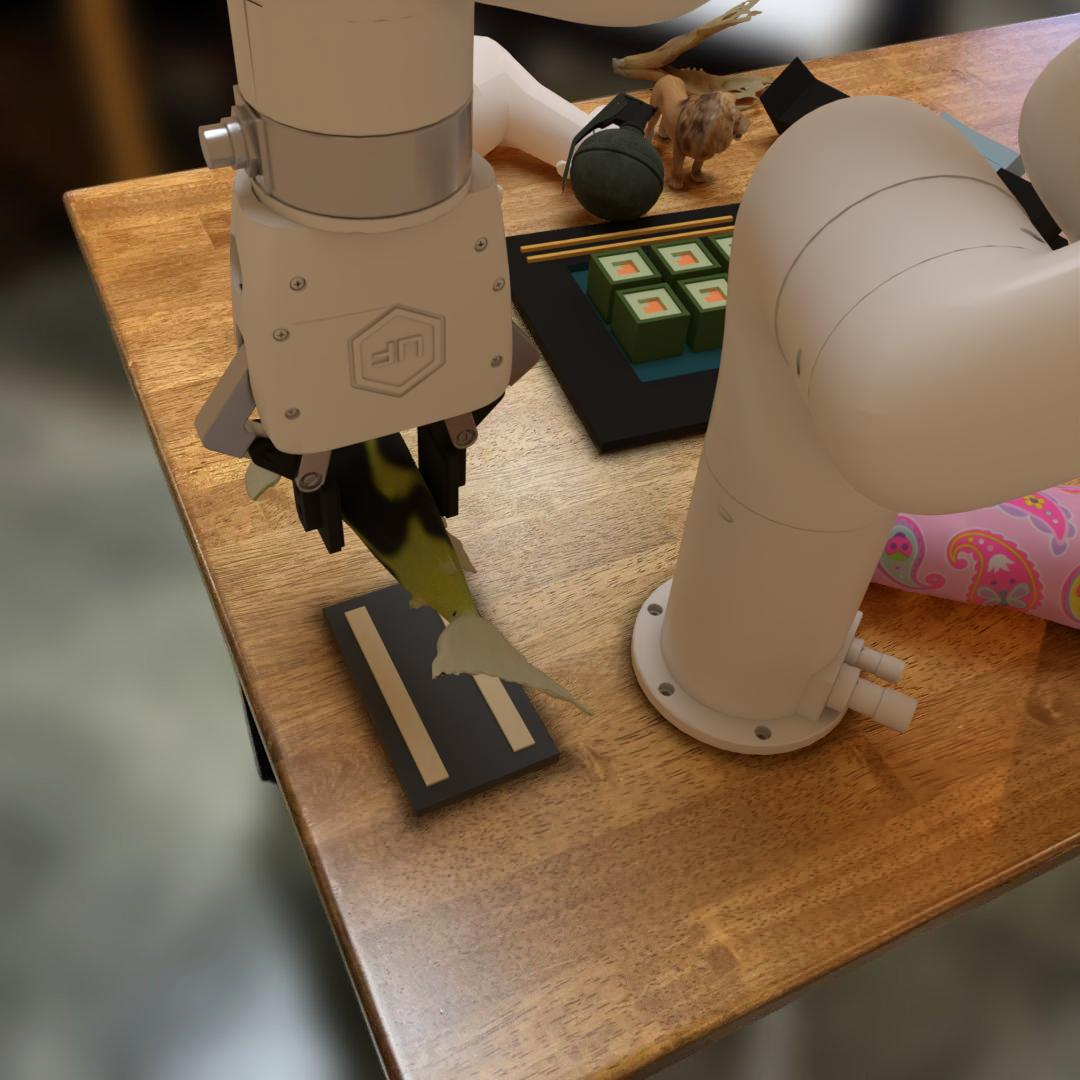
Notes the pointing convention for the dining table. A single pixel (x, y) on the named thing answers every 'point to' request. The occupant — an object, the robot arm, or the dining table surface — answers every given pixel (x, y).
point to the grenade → (616, 163)
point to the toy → (805, 94)
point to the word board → (434, 704)
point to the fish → (419, 556)
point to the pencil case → (994, 555)
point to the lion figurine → (694, 125)
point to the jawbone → (696, 82)
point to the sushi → (630, 318)
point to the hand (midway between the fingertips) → (383, 511)
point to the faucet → (521, 110)
